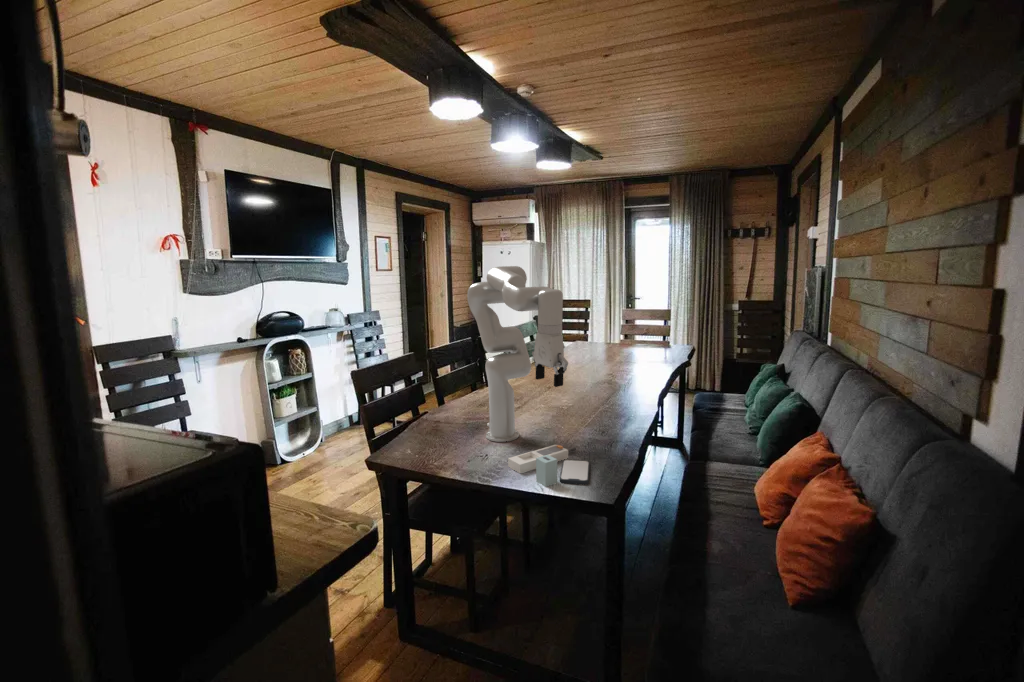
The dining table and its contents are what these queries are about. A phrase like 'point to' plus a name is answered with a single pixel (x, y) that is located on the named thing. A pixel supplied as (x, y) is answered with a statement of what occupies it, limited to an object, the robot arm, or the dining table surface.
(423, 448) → the dining table surface
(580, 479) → the smartphone
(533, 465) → the power strip
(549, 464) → the block
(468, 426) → the dining table surface
